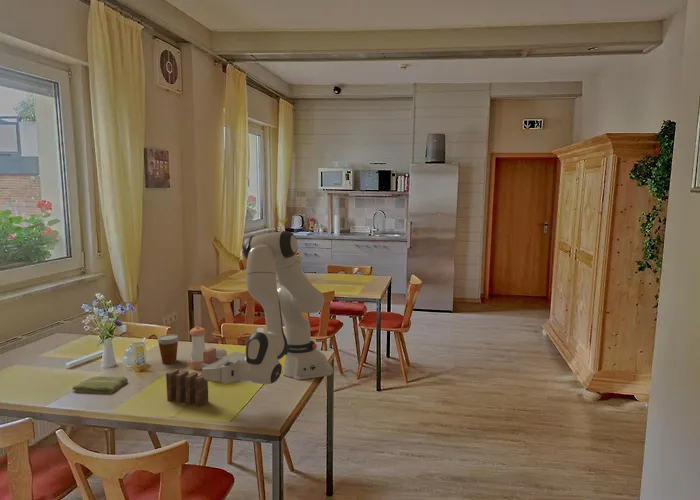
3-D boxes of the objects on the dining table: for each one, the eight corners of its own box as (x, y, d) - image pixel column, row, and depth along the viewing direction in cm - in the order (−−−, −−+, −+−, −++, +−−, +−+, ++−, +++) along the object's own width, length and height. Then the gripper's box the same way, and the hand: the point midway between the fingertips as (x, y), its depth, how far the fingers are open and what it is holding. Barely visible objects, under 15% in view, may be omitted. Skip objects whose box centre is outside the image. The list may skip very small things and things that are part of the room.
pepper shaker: (187, 368, 225) (185, 327, 222) (197, 363, 232) (196, 323, 229) (200, 370, 222) (198, 329, 220) (210, 365, 229) (209, 325, 226)
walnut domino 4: (208, 401, 190) (207, 374, 189) (200, 406, 186) (198, 379, 184) (204, 400, 191) (203, 373, 190) (195, 406, 186) (194, 378, 185)
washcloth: (90, 381, 211) (90, 373, 211) (129, 382, 210) (129, 375, 209) (70, 393, 198) (69, 386, 198) (111, 395, 197) (111, 388, 196)
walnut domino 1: (180, 396, 195) (179, 369, 194) (171, 401, 191) (170, 373, 189) (176, 395, 196) (175, 368, 195) (167, 400, 191) (166, 373, 190)
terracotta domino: (216, 376, 187) (216, 348, 186) (208, 380, 183) (207, 352, 181) (212, 375, 188) (211, 347, 187) (204, 380, 183) (203, 351, 182)
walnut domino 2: (189, 397, 194) (188, 371, 192) (180, 403, 189) (179, 375, 188) (185, 397, 194) (184, 370, 193) (176, 402, 190) (175, 374, 188)
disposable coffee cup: (167, 366, 227) (166, 341, 225) (154, 362, 232) (152, 338, 230) (184, 360, 235) (183, 336, 233) (171, 356, 240) (169, 332, 238)
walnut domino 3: (198, 399, 192) (197, 372, 191) (190, 405, 187) (189, 377, 186) (194, 398, 193) (193, 371, 191) (186, 404, 188) (184, 376, 187)
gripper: (254, 350, 189) (224, 346, 194) (222, 368, 170) (189, 363, 175) (255, 366, 190) (225, 361, 195) (222, 385, 171) (190, 380, 176)
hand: (208, 362), depth 185 cm, fingers closed on terracotta domino, 5 cm apart
